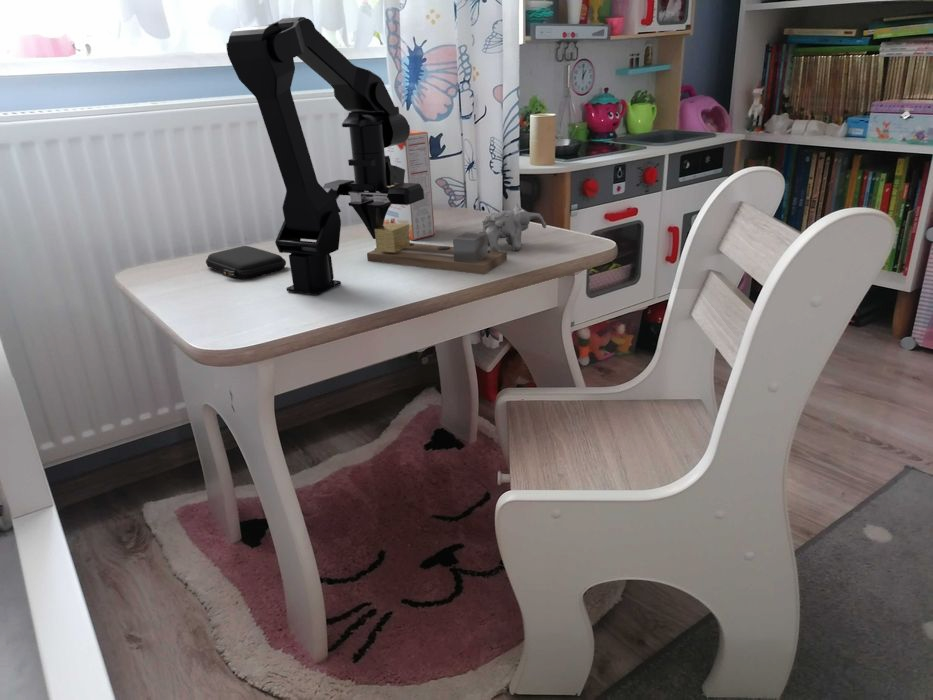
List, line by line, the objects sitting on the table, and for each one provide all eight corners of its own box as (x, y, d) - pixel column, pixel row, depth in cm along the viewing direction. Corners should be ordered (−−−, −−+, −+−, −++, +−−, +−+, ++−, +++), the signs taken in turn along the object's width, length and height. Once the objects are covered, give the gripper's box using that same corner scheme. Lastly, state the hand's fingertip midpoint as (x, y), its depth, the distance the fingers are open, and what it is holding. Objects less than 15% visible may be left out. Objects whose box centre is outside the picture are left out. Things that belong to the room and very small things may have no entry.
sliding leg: (395, 253, 124) (393, 230, 123) (376, 251, 126) (374, 229, 124) (417, 242, 130) (415, 221, 129) (399, 241, 132) (397, 220, 130)
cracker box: (375, 230, 149) (365, 129, 141) (398, 225, 153) (390, 126, 145) (411, 241, 139) (403, 133, 131) (435, 236, 143) (429, 130, 134)
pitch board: (484, 274, 117) (483, 242, 114) (367, 261, 127) (364, 231, 125) (506, 260, 124) (506, 229, 122) (394, 248, 135) (392, 220, 132)
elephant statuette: (474, 248, 134) (471, 209, 130) (526, 235, 139) (524, 197, 135) (499, 259, 126) (496, 218, 123) (553, 245, 131) (551, 205, 128)
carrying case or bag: (197, 270, 128) (238, 285, 118) (194, 254, 126) (235, 268, 117) (249, 257, 135) (291, 271, 125) (246, 242, 133) (289, 254, 124)
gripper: (436, 146, 124) (441, 232, 131) (352, 145, 133) (360, 225, 139) (403, 155, 115) (410, 246, 122) (315, 153, 124) (326, 238, 130)
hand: (376, 238), depth 128 cm, fingers closed
